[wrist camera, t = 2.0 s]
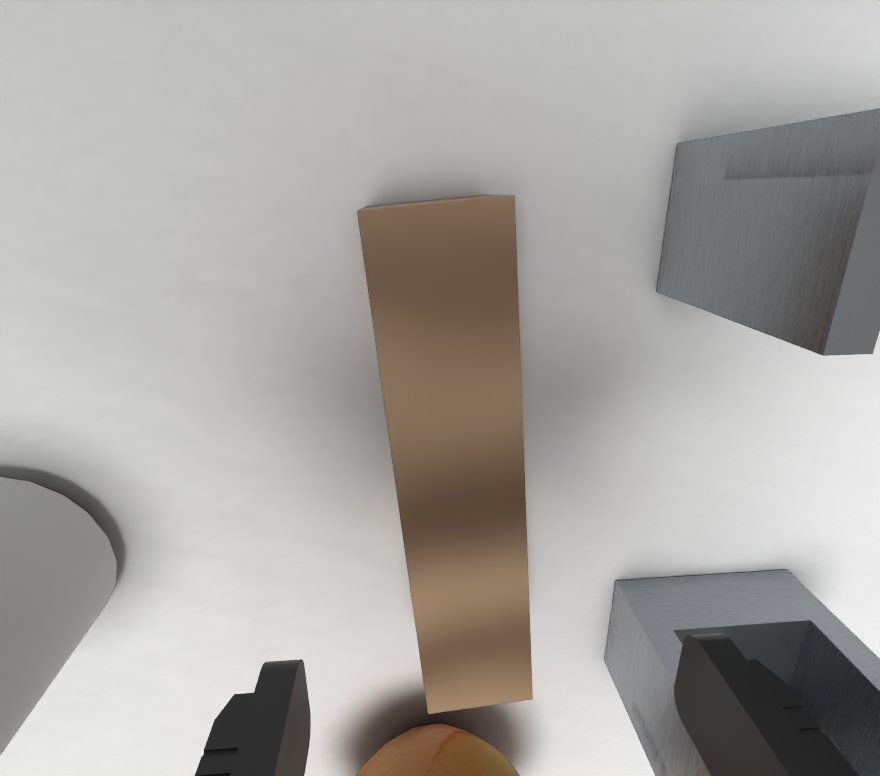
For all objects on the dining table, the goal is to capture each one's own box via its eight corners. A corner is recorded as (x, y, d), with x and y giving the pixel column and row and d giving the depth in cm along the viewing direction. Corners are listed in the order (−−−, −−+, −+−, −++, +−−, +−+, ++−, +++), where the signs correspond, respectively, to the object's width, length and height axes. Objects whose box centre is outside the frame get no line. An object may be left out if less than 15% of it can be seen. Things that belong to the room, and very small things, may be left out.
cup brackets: (677, 143, 17) (889, 106, 10) (909, 143, 18) (1274, 108, 10) (604, 660, 26) (689, 852, 18) (764, 648, 26) (910, 829, 19)
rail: (366, 206, 18) (356, 210, 13) (482, 194, 18) (514, 195, 13) (421, 612, 24) (427, 714, 19) (506, 601, 24) (532, 699, 20)
